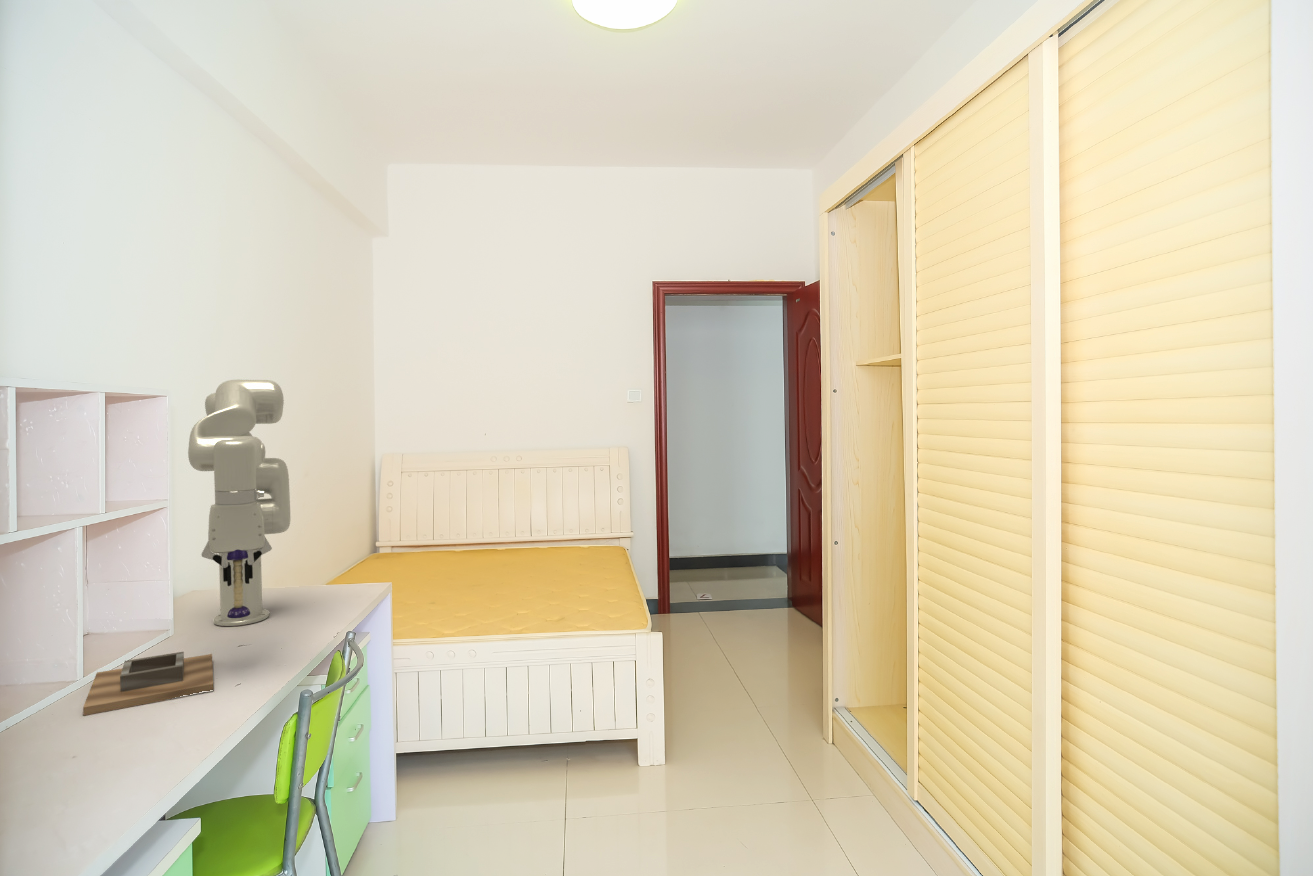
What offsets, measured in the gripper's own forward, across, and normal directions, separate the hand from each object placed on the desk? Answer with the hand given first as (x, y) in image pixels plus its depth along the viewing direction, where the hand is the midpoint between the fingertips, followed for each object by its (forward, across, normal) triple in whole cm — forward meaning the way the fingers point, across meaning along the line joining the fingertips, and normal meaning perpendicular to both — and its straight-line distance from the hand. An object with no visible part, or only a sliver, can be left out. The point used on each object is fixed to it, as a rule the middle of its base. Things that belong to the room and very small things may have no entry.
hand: (238, 582), depth 149 cm
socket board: (+19, +15, +1) cm, 24 cm away
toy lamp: (+7, 0, 0) cm, 7 cm away
